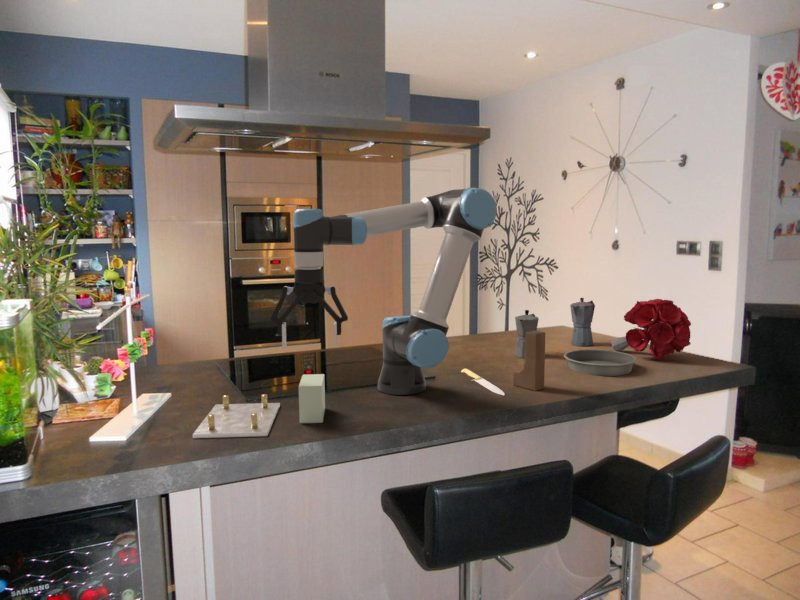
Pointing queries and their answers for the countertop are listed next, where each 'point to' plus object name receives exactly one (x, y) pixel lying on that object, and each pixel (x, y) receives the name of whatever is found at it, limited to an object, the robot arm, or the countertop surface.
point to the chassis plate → (238, 420)
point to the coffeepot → (524, 331)
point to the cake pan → (600, 362)
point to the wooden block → (532, 363)
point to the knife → (483, 382)
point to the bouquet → (656, 328)
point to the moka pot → (582, 322)
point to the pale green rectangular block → (312, 398)
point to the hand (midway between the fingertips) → (310, 347)
